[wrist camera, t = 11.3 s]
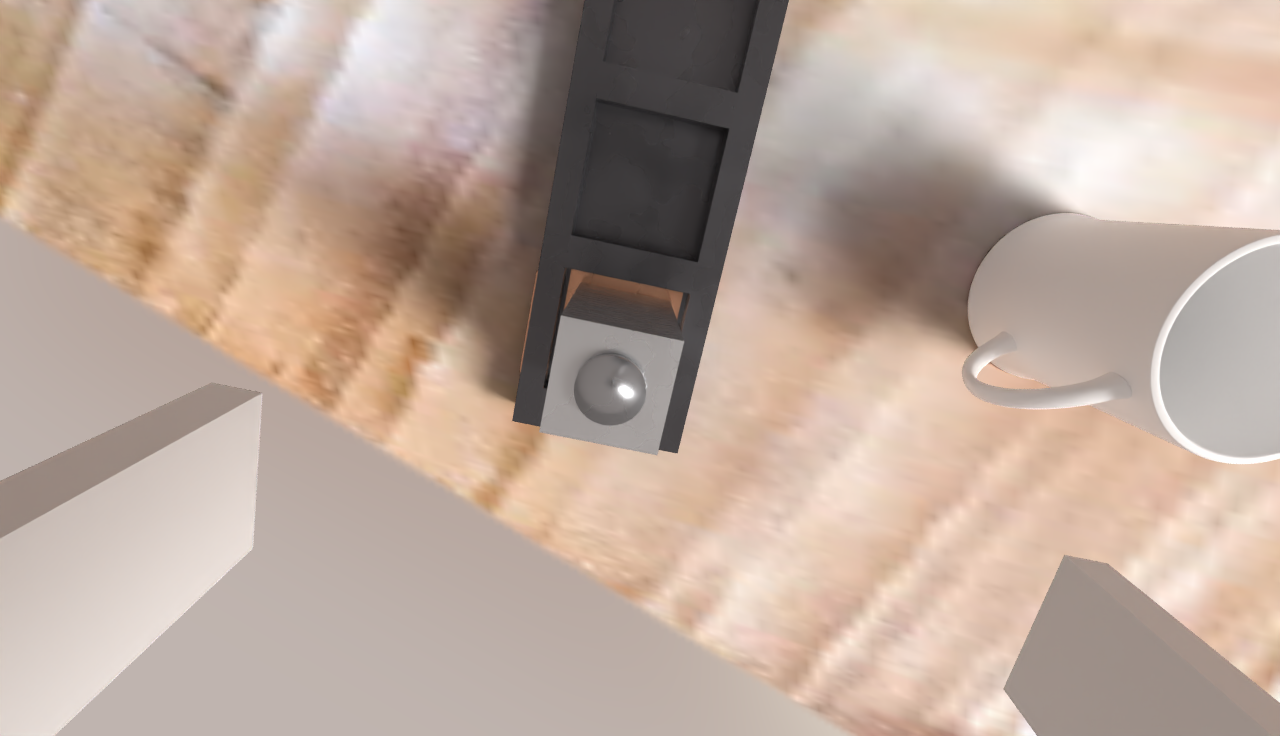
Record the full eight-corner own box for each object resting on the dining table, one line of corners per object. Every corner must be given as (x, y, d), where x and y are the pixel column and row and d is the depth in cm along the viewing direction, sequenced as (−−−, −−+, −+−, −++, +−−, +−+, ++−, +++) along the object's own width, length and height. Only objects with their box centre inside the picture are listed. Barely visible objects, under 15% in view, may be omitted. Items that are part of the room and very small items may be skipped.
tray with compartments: (611, -131, 28) (610, -161, 26) (801, -83, 29) (816, -108, 26) (518, 404, 34) (510, 420, 32) (675, 435, 35) (678, 453, 32)
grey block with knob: (580, 282, 32) (559, 318, 22) (670, 301, 32) (685, 344, 23) (564, 368, 33) (537, 436, 24) (650, 386, 33) (657, 460, 24)
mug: (920, 414, 35) (1064, 525, 23) (889, 262, 33) (1030, 299, 21) (1141, 351, 34) (1404, 432, 22) (1123, 190, 32) (1405, 188, 20)
